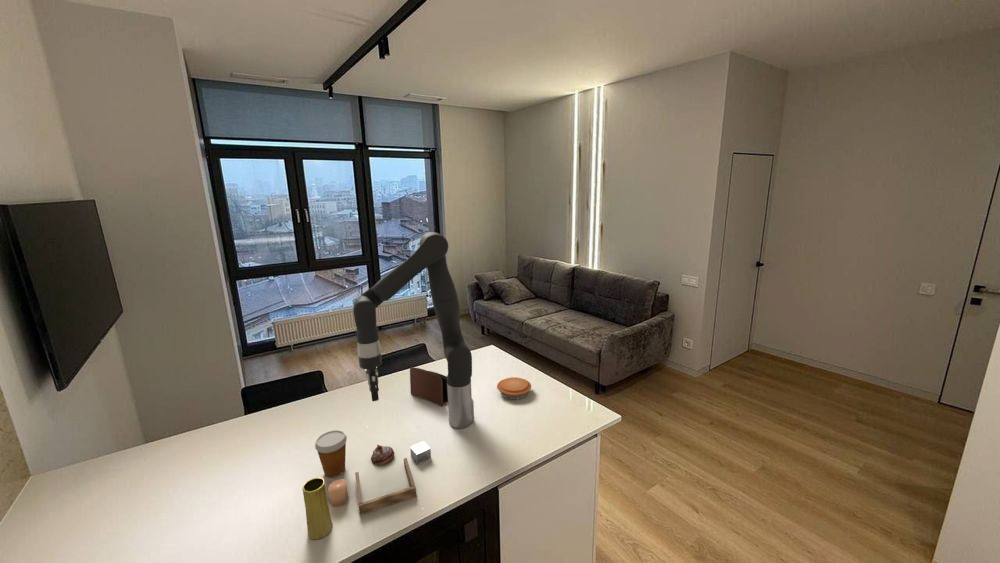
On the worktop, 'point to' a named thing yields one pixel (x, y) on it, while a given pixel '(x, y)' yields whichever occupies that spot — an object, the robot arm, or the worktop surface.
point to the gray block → (420, 452)
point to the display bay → (389, 498)
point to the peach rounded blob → (338, 492)
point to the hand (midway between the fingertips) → (374, 395)
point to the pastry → (382, 455)
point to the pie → (514, 387)
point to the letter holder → (429, 386)
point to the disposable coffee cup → (332, 452)
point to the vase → (317, 508)
